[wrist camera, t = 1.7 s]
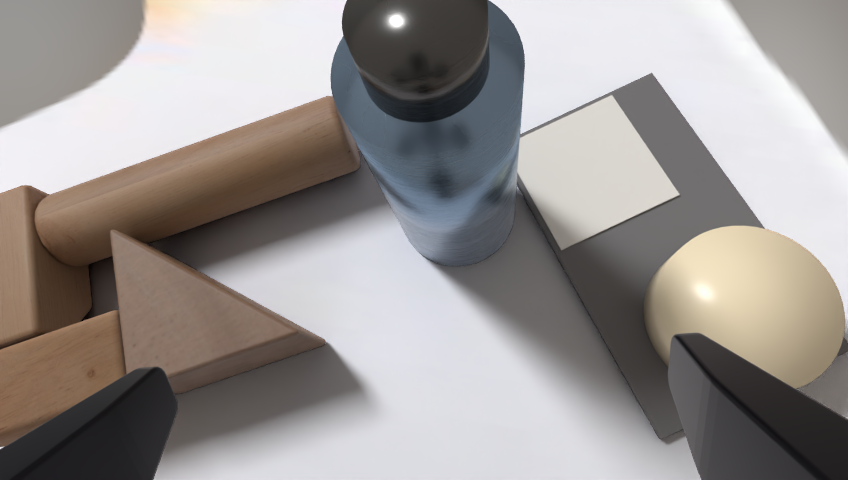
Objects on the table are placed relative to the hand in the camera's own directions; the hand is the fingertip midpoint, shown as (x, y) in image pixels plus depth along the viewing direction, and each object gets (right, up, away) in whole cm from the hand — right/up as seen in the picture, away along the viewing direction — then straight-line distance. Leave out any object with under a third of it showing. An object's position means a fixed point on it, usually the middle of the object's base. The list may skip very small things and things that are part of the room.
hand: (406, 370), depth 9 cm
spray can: (+2, +4, +15) cm, 16 cm away
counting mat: (+10, +2, +14) cm, 17 cm away
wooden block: (-19, -2, +15) cm, 24 cm away
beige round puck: (+12, -1, +12) cm, 17 cm away
